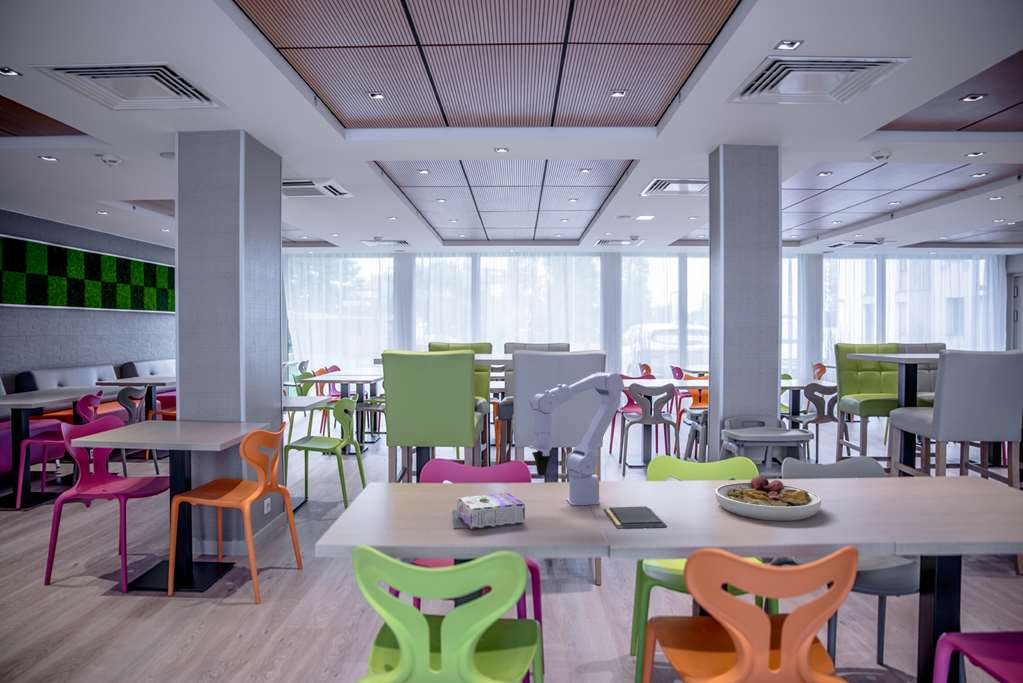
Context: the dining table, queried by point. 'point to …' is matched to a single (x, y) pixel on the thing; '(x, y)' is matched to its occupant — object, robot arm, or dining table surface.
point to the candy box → (491, 510)
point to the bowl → (768, 500)
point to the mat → (461, 524)
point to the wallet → (634, 518)
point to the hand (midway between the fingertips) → (541, 475)
